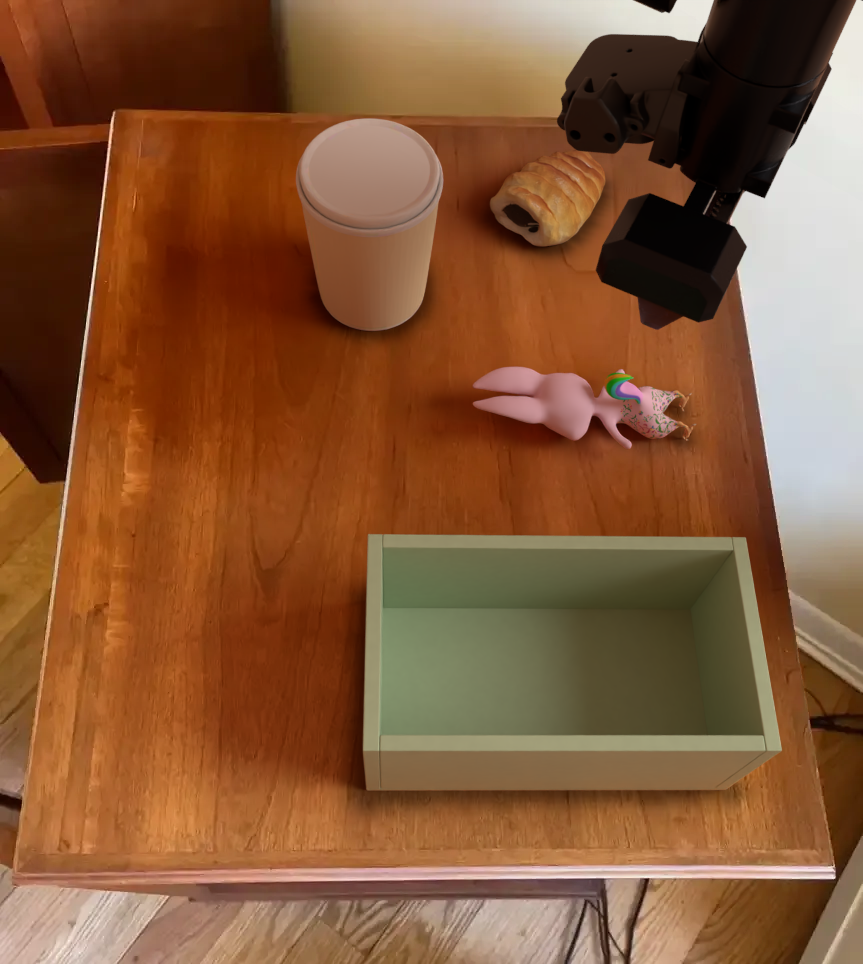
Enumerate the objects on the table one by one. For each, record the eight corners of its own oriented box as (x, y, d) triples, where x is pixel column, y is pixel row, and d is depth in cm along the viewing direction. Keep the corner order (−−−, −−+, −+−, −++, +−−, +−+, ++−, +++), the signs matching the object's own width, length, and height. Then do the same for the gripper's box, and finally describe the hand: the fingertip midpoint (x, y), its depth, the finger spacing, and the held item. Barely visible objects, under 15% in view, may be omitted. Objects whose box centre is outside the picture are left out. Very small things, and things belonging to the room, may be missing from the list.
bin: (699, 600, 64) (746, 536, 55) (725, 790, 58) (782, 751, 50) (370, 598, 63) (367, 533, 55) (366, 790, 57) (362, 750, 49)
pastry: (556, 152, 82) (564, 115, 78) (624, 196, 80) (635, 159, 76) (481, 216, 78) (486, 180, 75) (550, 264, 76) (558, 229, 73)
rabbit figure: (670, 395, 73) (466, 369, 70) (707, 347, 67) (488, 317, 65) (680, 471, 70) (467, 448, 67) (719, 427, 64) (490, 400, 62)
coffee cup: (434, 240, 77) (441, 114, 66) (438, 341, 72) (446, 224, 62) (310, 239, 76) (297, 113, 66) (306, 341, 72) (292, 223, 61)
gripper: (673, -119, 51) (612, 122, 65) (518, 108, 43) (486, 328, 57) (886, -48, 49) (777, 185, 63) (766, 204, 41) (671, 409, 55)
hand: (678, 269), depth 60 cm, fingers open, 9 cm apart
